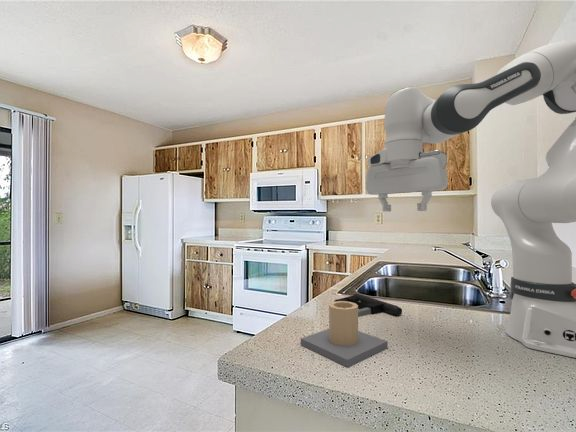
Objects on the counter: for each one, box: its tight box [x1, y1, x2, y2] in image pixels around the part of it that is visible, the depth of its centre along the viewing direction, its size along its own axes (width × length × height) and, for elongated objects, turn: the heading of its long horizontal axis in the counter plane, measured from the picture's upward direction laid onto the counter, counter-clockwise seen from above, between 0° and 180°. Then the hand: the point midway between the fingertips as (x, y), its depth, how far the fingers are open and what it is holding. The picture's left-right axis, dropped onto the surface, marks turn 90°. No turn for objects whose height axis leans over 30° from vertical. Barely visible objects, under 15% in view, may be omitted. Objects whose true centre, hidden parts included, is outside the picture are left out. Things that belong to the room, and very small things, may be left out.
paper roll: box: [328, 300, 359, 346], centre depth 71 cm, size 6×6×8 cm
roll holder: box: [300, 328, 389, 368], centre depth 71 cm, size 14×14×8 cm
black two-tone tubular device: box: [333, 293, 403, 318], centre depth 98 cm, size 3×20×16 cm
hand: (403, 211), depth 76 cm, fingers open, 8 cm apart
